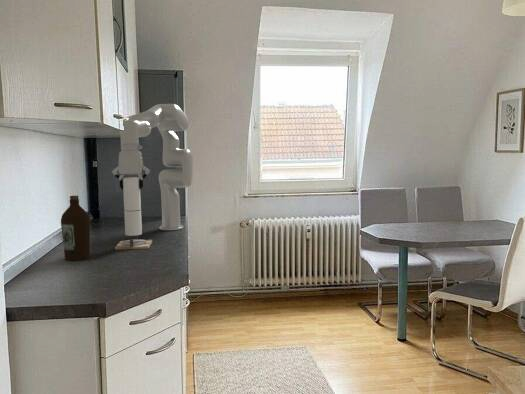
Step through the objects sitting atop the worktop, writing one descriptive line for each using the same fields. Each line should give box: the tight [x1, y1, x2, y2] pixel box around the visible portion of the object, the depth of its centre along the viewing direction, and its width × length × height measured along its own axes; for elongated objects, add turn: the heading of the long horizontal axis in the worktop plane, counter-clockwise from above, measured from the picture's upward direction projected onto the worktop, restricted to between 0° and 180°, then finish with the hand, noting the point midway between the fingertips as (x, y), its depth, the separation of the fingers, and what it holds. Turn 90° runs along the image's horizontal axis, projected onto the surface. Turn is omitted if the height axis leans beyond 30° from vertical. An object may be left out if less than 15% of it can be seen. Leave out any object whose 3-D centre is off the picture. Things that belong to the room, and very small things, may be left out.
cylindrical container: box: [122, 176, 143, 237], centre depth 204 cm, size 7×7×25 cm
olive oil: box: [60, 195, 91, 262], centre depth 183 cm, size 11×11×25 cm
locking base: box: [114, 235, 153, 251], centre depth 206 cm, size 14×14×4 cm
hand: (131, 188), depth 203 cm, fingers closed on cylindrical container, 7 cm apart
